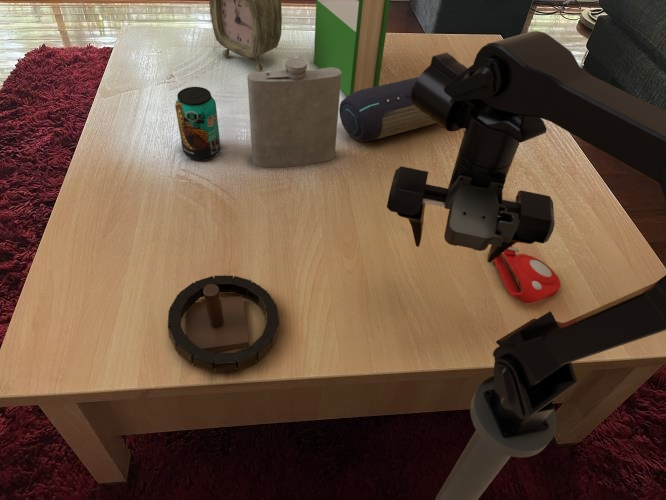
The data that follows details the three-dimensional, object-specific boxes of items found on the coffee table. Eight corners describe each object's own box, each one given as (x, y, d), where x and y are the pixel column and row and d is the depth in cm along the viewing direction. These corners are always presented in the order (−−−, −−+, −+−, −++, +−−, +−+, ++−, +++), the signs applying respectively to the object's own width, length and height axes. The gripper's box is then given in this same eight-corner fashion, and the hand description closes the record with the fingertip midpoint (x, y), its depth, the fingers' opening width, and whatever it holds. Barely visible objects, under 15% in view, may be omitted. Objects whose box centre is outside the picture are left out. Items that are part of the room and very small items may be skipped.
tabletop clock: (215, 57, 126) (203, -59, 108) (241, 44, 131) (234, -68, 113) (259, 78, 121) (255, -41, 103) (285, 64, 126) (285, -51, 108)
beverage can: (175, 152, 100) (164, 95, 91) (202, 136, 104) (194, 80, 95) (202, 167, 97) (193, 110, 88) (228, 150, 101) (223, 94, 92)
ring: (272, 283, 79) (274, 274, 78) (281, 368, 69) (283, 360, 68) (171, 284, 76) (170, 275, 74) (166, 374, 66) (165, 366, 64)
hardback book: (377, 92, 120) (393, -20, 102) (349, 98, 117) (360, -15, 100) (340, 57, 130) (348, -49, 113) (313, 62, 127) (318, -46, 110)
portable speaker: (357, 155, 102) (362, 110, 95) (332, 128, 108) (336, 84, 101) (458, 127, 112) (470, 84, 104) (431, 104, 118) (440, 61, 110)
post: (249, 347, 71) (245, 310, 65) (188, 356, 70) (179, 319, 64) (243, 300, 76) (239, 263, 70) (186, 308, 75) (178, 270, 69)
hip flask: (332, 150, 103) (340, 52, 89) (337, 162, 101) (345, 64, 86) (251, 157, 100) (245, 57, 85) (254, 170, 97) (248, 69, 83)
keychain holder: (565, 266, 83) (565, 300, 75) (548, 285, 86) (546, 320, 78) (498, 228, 85) (491, 257, 76) (483, 248, 87) (475, 278, 79)
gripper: (388, 180, 52) (370, 281, 63) (581, 220, 50) (526, 317, 61) (405, 121, 60) (386, 221, 71) (573, 153, 57) (525, 251, 69)
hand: (453, 252), depth 68 cm, fingers open, 9 cm apart
